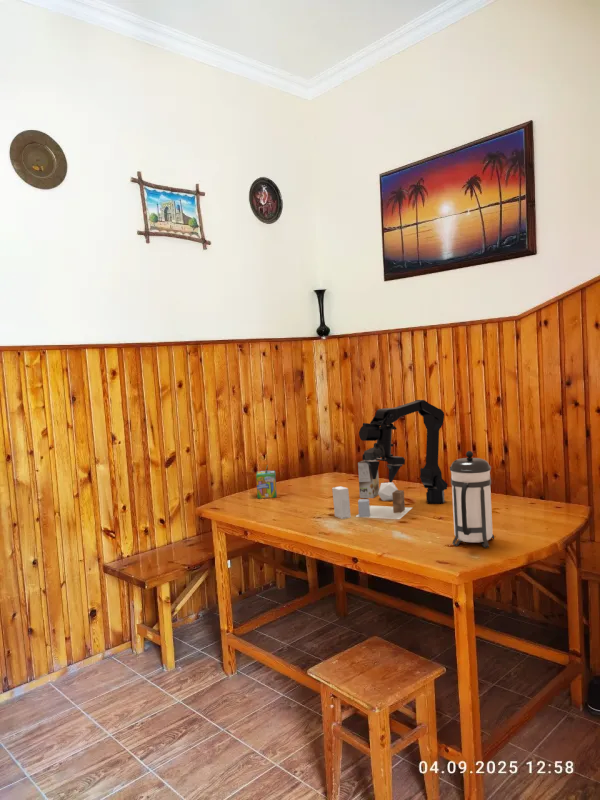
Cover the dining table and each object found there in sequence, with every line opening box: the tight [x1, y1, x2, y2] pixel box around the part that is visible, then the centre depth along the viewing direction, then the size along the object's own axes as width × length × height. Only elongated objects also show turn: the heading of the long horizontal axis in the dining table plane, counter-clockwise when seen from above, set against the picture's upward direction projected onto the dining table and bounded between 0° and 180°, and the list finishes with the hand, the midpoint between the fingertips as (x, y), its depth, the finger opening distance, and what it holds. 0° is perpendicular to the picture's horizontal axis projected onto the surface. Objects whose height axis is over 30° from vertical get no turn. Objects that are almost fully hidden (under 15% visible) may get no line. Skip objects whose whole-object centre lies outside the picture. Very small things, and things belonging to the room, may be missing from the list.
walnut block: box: [392, 489, 406, 513], centre depth 238 cm, size 3×5×8 cm, turn 154°
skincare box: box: [331, 486, 352, 520], centre depth 236 cm, size 6×4×12 cm
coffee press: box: [449, 450, 495, 549], centre depth 194 cm, size 17×16×30 cm
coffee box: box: [357, 460, 380, 499], centre depth 271 cm, size 9×6×16 cm
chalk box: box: [255, 464, 278, 499], centre depth 284 cm, size 9×9×15 cm
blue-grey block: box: [357, 498, 371, 518], centre depth 236 cm, size 4×4×6 cm
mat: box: [355, 505, 413, 520], centre depth 239 cm, size 18×18×1 cm
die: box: [377, 481, 399, 502], centre depth 260 cm, size 8×9×10 cm
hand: (382, 480), depth 236 cm, fingers open, 9 cm apart
